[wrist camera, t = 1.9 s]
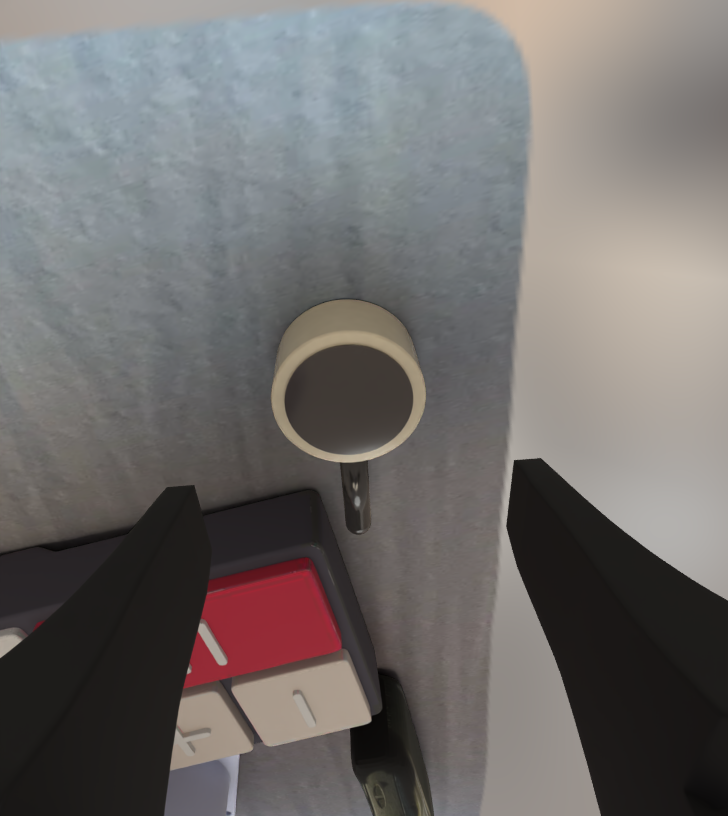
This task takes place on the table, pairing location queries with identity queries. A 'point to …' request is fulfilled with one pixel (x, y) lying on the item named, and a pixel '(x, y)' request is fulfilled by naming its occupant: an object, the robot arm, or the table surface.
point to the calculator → (240, 628)
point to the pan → (348, 391)
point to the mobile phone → (391, 758)
